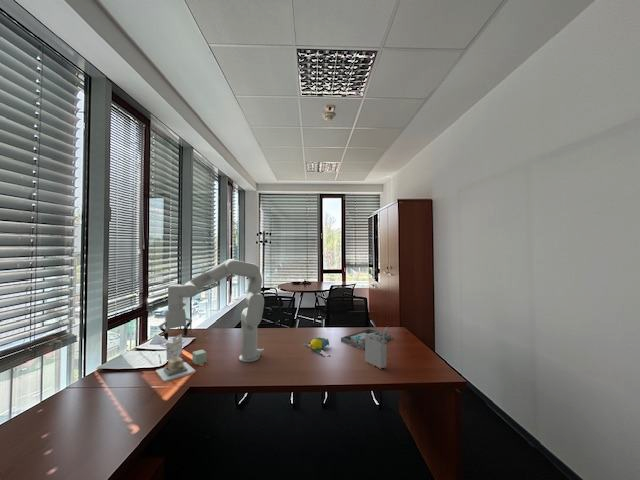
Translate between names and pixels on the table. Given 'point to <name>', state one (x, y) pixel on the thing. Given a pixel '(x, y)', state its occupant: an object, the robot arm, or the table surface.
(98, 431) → the table surface
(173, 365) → the maple block
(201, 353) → the sage block
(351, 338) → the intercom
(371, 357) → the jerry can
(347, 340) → the desk tray
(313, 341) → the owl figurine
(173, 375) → the baseplate
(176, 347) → the ink cartridge box
